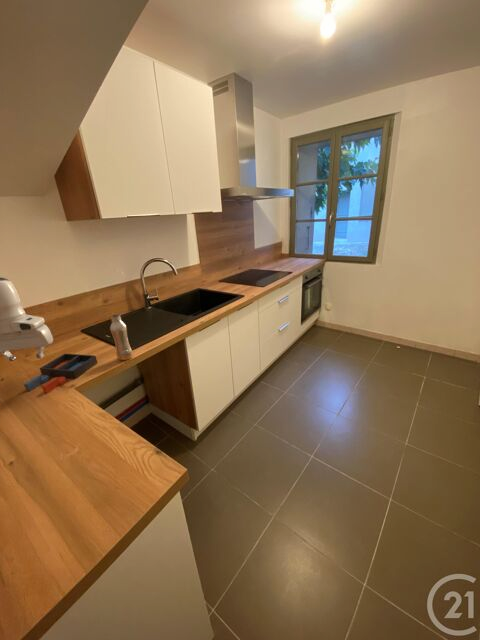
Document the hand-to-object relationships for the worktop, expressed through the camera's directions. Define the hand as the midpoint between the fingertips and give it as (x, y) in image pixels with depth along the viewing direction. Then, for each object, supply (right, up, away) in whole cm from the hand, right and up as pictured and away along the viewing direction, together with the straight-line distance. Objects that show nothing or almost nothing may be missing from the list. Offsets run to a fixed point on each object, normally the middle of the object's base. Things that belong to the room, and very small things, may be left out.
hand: (26, 358), depth 94 cm
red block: (+8, -11, +3) cm, 14 cm away
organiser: (+7, -6, +14) cm, 17 cm away
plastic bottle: (+27, -3, +21) cm, 34 cm away
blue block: (0, -11, +5) cm, 12 cm away
